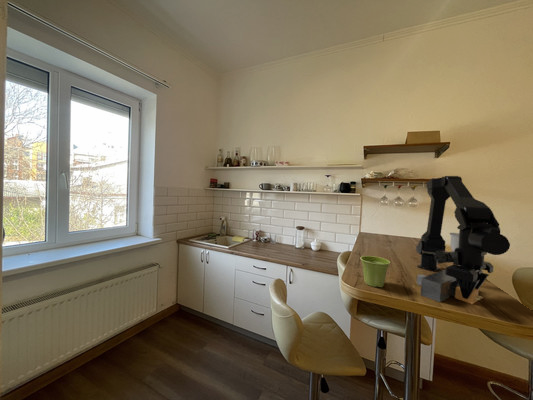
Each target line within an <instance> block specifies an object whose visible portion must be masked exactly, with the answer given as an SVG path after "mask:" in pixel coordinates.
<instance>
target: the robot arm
mask: <svg viewBox="0 0 533 400" xmlns="http://www.w3.org/2000/svg"><path fill="white" fill-rule="evenodd" d="M426 189H427V195H429V197H430V206H429V213H428V221H427V226H426V231H425V232H424V233H423V234H421V237H420V240H419V242H418V244H417V245H416V247H415V249H416V250H415V251H416V253H417V254H418V255H420V264H417V266H416V267H417V268H421V269H424V270H428V271H432V272H436V271H437V272H438V271H440V270H441V267H438V264H443V263H446V264H447V263H452V265H449V266H446V267H445V268H444V270H445V275H448V276H451V277H454V278H455V279H456V280H457V281H458V284H459V287H460V290H461V293H462V297H463V298H465V299H468V298H469V296H470V295H471V293H472V292H473V290H474V288H475V289H480V287H482V285H483V283H484V282H485V281H486V280H487V278H488V277H489V276H490V274H491V273H493V272H494V265H493V264H492V263H491V262H489V261H485V256H486V255H488V254H490V255H494V256H501V255H504V254H505V253H507V252H508V251H509V249H510V247H511V242H510V241H509V239H508V237H506V236H505V235H503V234H501V228H500V223H499V221H498V220H497V218H496V216H495V215H494V212H493V210H492V208H491V207H489V206H488V205H487V204H486V203H485V202H483V201H480V200H477V199H475V198H474V196H473V194H472V193H471V192H470V190H469V189H468V188H467V186H466V185H465V184H464V183H463V179H462V177H461V176H459V175H445V176H442V177H437V178H431V179H429V180H428V181H427V182H426ZM449 198H451V200H452V201H453V203H454V206H455V207H456V208H455V210H454V213H453V214H454V217H455V219H456V221H457V222H458V224H459V225H458V226H457V227H456V228H457V230H459V232H458V233H459V247H458V248H456V249H455V251H446V239H444V238H443V236H442V229H443V221H444V214H445V210H446V209H445V208H446V202H447V201H448V199H449ZM458 265H460V266H458ZM484 271H487V272H485V273H484Z"/></svg>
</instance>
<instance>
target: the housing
mask: <svg viewBox="0 0 533 400" xmlns="http://www.w3.org/2000/svg"><path fill="white" fill-rule="evenodd" d="M457 286H459V284H458V281H457V280H456V279H455V278H454V277H451V276H448V275H445V269H443V270H438V271H437V272H433V273H432V274H431V273H430V274H429V275H425V277H423V278H422V280H421V285H420V296H423V297H424V298H425V297H426V298H427V299H430V300H433V301H436V302H439V303H441V302H443V301H445V300H447V299H449V298H450V295H449V294H450V287H453V288H456V287H457Z"/></svg>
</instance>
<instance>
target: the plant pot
mask: <svg viewBox="0 0 533 400" xmlns="http://www.w3.org/2000/svg"><path fill="white" fill-rule="evenodd" d="M360 260H361V265H362V270H363V280H364V283H365V284H366V285H368V286H370V287H374V288H375V287H379V288H383V287H384V286H385V283H386V280H385V279H386V278H387V271H388V268H389V266H390V264H391V261H390V260H388V259H386V258H383V257H379V256H373V255H372V256H371V255H363V256H360Z"/></svg>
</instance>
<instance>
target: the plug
mask: <svg viewBox="0 0 533 400" xmlns="http://www.w3.org/2000/svg"><path fill="white" fill-rule="evenodd" d="M425 276H426V275H424V274H422V273H421V274H418V275H416V284H417V285H418V286H419V285H420V286H421V280H422V278H423V277H425ZM479 289H480V288H479ZM479 289H475V288H474V290H473V292H472V293H471V295H470V296H469V298H468V299H465V298H463V297H462V293H461V290H460V287H459V286H457V287H456V288H453V287H450V294H449V296H452V297H454V298H455V299H457V300H459V301H463V302H465V303H468V304H471V305H473V304H475V303H476V302H478V301H480V300H481V299H483V297H484V296H481V295H479Z"/></svg>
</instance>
